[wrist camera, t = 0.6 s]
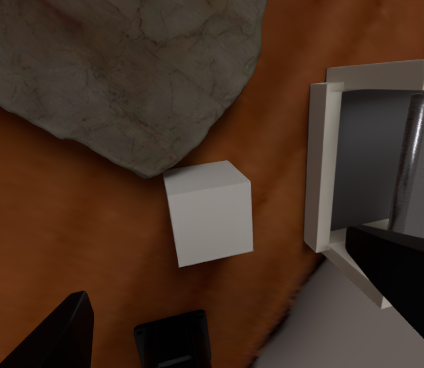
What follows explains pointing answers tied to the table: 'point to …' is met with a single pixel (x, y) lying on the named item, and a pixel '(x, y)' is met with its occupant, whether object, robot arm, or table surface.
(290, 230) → the table surface
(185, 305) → the table surface
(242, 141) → the table surface
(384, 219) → the frame
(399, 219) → the trapdoor
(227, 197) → the light grey cube
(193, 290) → the table surface
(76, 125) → the marble piece
